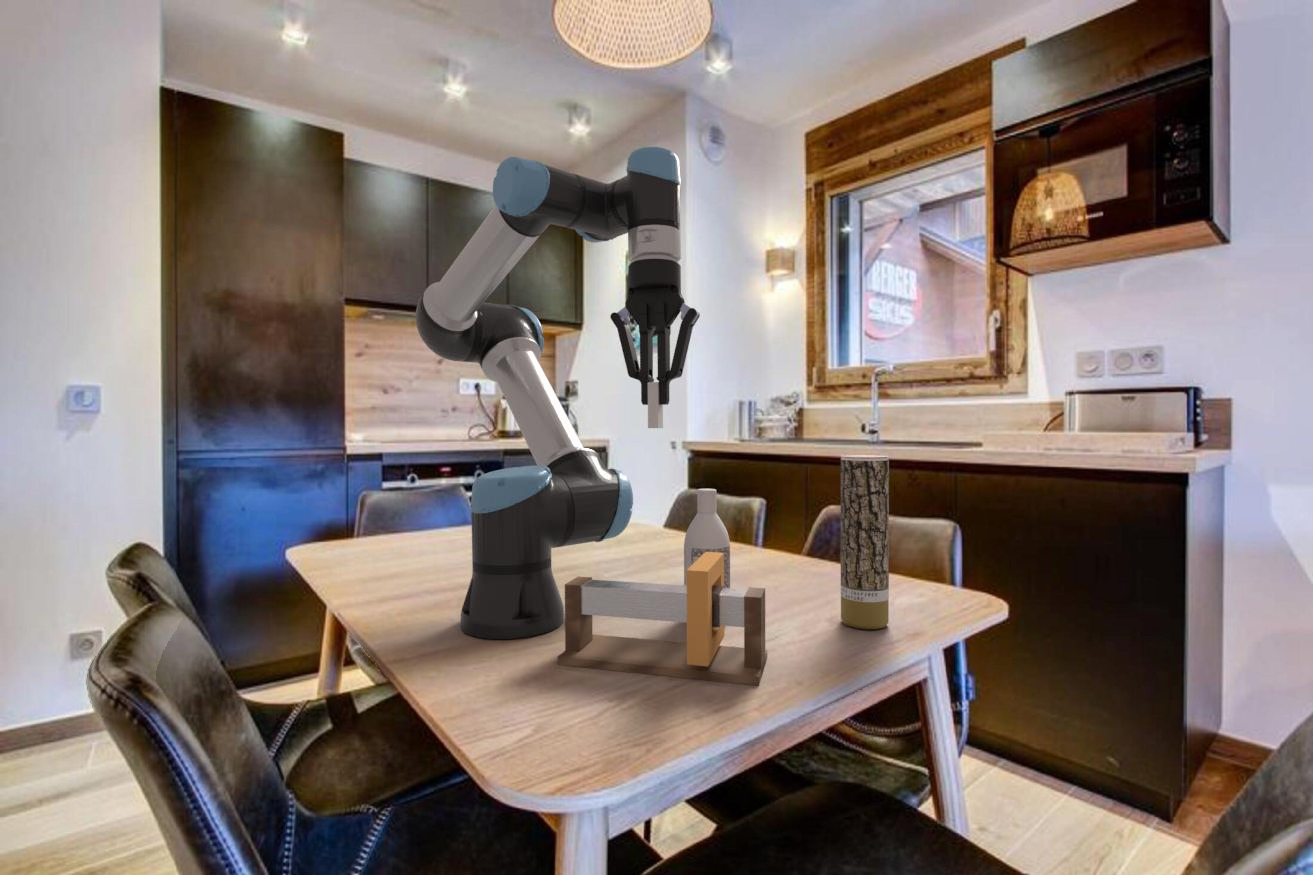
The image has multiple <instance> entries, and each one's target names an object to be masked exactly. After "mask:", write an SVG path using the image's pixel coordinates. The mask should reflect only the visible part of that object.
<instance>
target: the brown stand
mask: <svg viewBox="0 0 1313 875" xmlns="http://www.w3.org/2000/svg"><path fill="white" fill-rule="evenodd" d="M589 580H593V577H591V576H576V577H574V578H573V579H571V580H570V581H567V583H565V584H564V635H565V637H564V639H565V642H564V646H565V647H564V648H565V650H564V651H563V652H561V653H560V654H559V655H558V656H557V665H560V666H569V667H578V668H587V669H596V670H597V669H598V670H606V671H607V670H609V671H615V672H616V671H617V672H626V673H635V674H636V673H637V674H644V675H645V674H646V675H654V676H664V677H675V678H685V679H693V680H694V679H695V680H705V681H713V682H714V681H715V682H723V683H733V684H744V685H752V686H760V685H761V684H760V683H761V680H762V678H763V674H764V670H765V667H766V664H767V661H768V660H767V659H768V649H766V588H764V587H751V586H749V587H748V589H746V590H747V592H746V594H745V596H744V627H743V628H744V630H743V632H744V634H743V636H744V637H743V638H744V641H743V643H744V646H743V647H741V646H740V647H739V646H737V647H736V646H727V645H719V647H718V649H717V651H716V653H715V655H714V657H713V658H712V660H711V662H710V664H709V666H698V665H688V664H687V642H684V641H683V642H682V641H671V640H659V639H647V638H637V637H628V636H625V637H624V636H614V635H606V634H605V635H602V634H593V615H585V614H581V590H580V586H582V585H583V584H585V583H586V582H588V581H589Z"/></svg>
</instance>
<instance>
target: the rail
mask: <svg viewBox="0 0 1313 875" xmlns="http://www.w3.org/2000/svg"><path fill="white" fill-rule="evenodd" d="M580 590H581V614H585V615H592V616H598V617H610V618H611V617H612V618H613V617H614V618H622V619H623V618H624V619H635V620H636V619H637V620H650V621H663V622H664V621H665V622H671V623H672V622H675V623H686V624H687V586H684V584H683V585H682V584H681V585H680V584H665V583H649V582H637V581H635V582H634V581H633V582H632V581H619V580H602V579H592V580H589V581H588V582H586V583H585V584H583V585H582V586H580ZM747 590H748V589H744V588H731V587H730V588H725V586H715V585H712V627H720V626H721V625H722V626H724V627H737V628H739V627H740V628H744V596H745V594H746V592H747Z"/></svg>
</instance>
